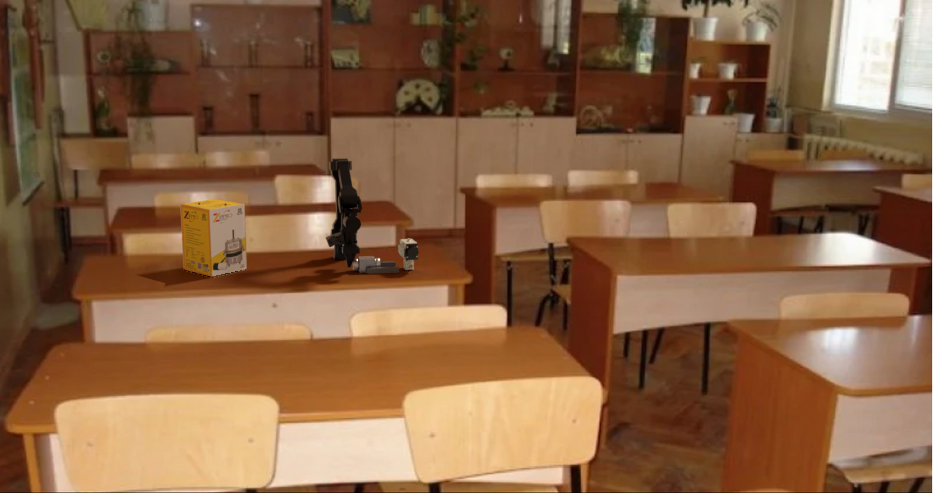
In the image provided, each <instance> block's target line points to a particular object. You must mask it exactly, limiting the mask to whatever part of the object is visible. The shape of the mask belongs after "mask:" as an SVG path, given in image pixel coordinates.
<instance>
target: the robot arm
mask: <svg viewBox="0 0 933 493" xmlns="http://www.w3.org/2000/svg"><path fill="white" fill-rule="evenodd" d="M352 162H353V161H352V160H349V159H348V158H346V157H345V158H341V157H339V158H331V160H330V161H328V170H329V171H330V175H331V177H332V179H333V180H334V189H335V190H334V192H335V193H334V194H335V220H333V223H332V225H331V229H330V234H329V235H328V236H326V237H325V240H326V241H327V245H328V247H329V248H331V247H333V250H334V251H333V254H332V258H333V260H335V261H337V260H345V262H346V265H347V267H346V268H351V267H352V266H353V261H354V259H356V257H357V255H359V254H361V250H360V249H361V248H360V246H359V245H358V240H357V238H358V237H357V236H358V231H359V230H360V229H361V227H362V222H361V220H360V218H359V217H358V214H361V213H362V211H363V205H362V199H361V198H360V195H358V190H357V189H356V188H355V187H354V185H353V182H352V181H353V180H352V176H351V171H352V170H353V163H352Z"/></svg>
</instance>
